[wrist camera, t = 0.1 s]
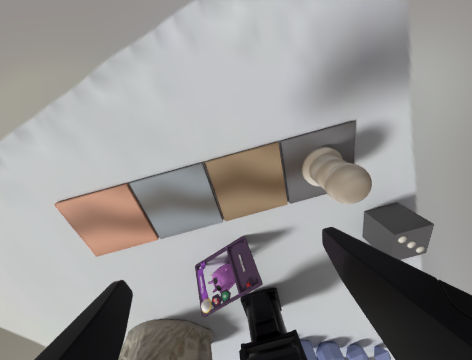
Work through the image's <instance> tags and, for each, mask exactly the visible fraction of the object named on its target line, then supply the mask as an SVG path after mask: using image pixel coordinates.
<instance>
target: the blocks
mask: <svg viewBox="0 0 472 360" xmlns="http://www.w3.org/2000/svg"><path fill="white" fill-rule="evenodd" d="M300 341H301V344H302V347H303V349H304V352H305V354H306V357H307V360H345V359H344V357H343V355H342V353H341V351H340V349H339V347H338V345H337V344H336V343H334V342H324V343H321V345H320V346H319V347H318V348H317V351H316V355H317V357H318V359H317V358H316V355H315V352H314V350H313V347H312V345H311V343H310V341H306V340H300ZM346 356H347V358H348V360H369V358H368V356H367V354H366V353H365V351H364V349H363V348H361V347H359V346H358V345H356V344H352V345H350V346H348V348H347V353H346ZM374 357H375V359H376V360H391V357H390V354H389V352H388V351H386V350H384V349H382V348H380V347H378V346H376V347H375V348H374Z"/></svg>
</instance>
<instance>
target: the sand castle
mask: <svg viewBox="0 0 472 360" xmlns="http://www.w3.org/2000/svg"><path fill="white" fill-rule="evenodd" d="M213 336H214V334H213V332H212V331H211V330H208V329H207V330H206V329H205V328H204V327H202V326H199V325H196V324H195V323H193V322H189V321H180V320H170V319H169V320H167V319H166V320H165V319H160V320H157V321H156V320H151V321H146V322H144V323H142V324H139V325H137V326H136V327H134V328H132V329H131V330H130V331H129V332H128V335H127V338H126V341H125V342H124V344H123V346H122V348H121V352H120V356H119V359H118V360H212V352H211V343H212V340H213Z"/></svg>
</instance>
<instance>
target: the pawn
mask: <svg viewBox="0 0 472 360" xmlns="http://www.w3.org/2000/svg"><path fill="white" fill-rule="evenodd" d="M301 172H302V176H303V177H304V179H305V180H306V181H307V182H308V183H310V184H311V185H314V186H321V187H322V188H323V189H324V190H326V192H327V194H328V195H329V196H330V197H331V198H332V199H333V200H335V201H337V202H340V203H344V204H353V203H357V202H359V201H361V200H363V199H364V198H365V197H366V196H367V195H368V194H369V192H370V190H371V186H372V181H371V177H370V175H369V174H368V172H367V171H366V170H365V169H364V168H362V167H361V166H359V165H356V164H352V163H348V162H346V161H344V160H343V158H342V156H341V154H340V153H339V152H338V151H336V150H334V149H332V148H329V147H320V148H317V149H314V150H313V151H311V152H310V153H309V154H308V155H307V156H306V157H305V159H304V161H303V163H302V167H301Z"/></svg>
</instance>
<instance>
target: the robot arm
mask: <svg viewBox="0 0 472 360" xmlns="http://www.w3.org/2000/svg"><path fill="white" fill-rule="evenodd" d="M322 242H323V246H324V248H325V250H326V252H327V254H328V256H329V258H330V259H331V261H332V263H333V265H334V267H335V269H336V271H337V272H338V274H339V276H340V278H341V280H342V281H343V283H344V284H345V286H346V287H347V289H348V290H349V292H350V293H351V295H352V296H353V298H354V299H355V301H356V302H357V304H358V305H359V307H360V308H361V310H362V311H363V313H364V314H365V315H366V317H367V318H368V320H369V321H370V323H371V324H372V326H373V327H374V329H375V330H376V332H377V333H378V335H379V336H380V338H381V339H382V341H383V342H384V344H385V345H386V346H387V348H388V349H389V351H390V352H391V354H392V355H393V357H394V358H395V360H472V295H470V294H468V293H466V292H464V291H462V290H460V289H458V288H455V287H453V286H451V285H449V284H447V283H445V282H443V281H441V280H437V279H436V278H435V277H433V276H431V275H429V274H427V273H425V272H423V271H421V270H419V269H417V268H415V267H413V266H411V265H409V264H407V263H405V262H403V261H401V260H399V259H397V258H394V257H392V256H390V255H388V254H386V253H384V252H382V251H380V250H378V249H376V248H374V247H372V246H370V245H368V244H366V243H364V242H362V241H360V240H358V239H356V238H354V237H352V236H350V235H348V234H346V233H344V232H342V231H340V230H338V229H336V228H334V227H329V228H325V229H323V230H322ZM132 297H133V293H132V290H131V289H130V288H129V286H128V285H127V284H126V282H125V281H124V280H120V281H116V282H113V283H111V284H110V285H109V286H108V287H107V288H106V289H105V290H104V291H103V292H102V293H101V294H100V295H99V296H98V297H97V298H96V299H95V300H94V301H93V302H92V303H91V304H90V305H89V306H88V307H87V308H86V309H85V310H84V311H83V312H82V313H81V314H80V315H79V316H78V317H77V318H76V319H75V320H74V321H73V322H72V323H71V324H70V325H69V326H68V327H67V328H66V329H65V330H64V331H63V332H62V333H61V334H60V335H59V336H58V337H57V338H56V339H55V340H54V341H53V342H52V343H51V344H50V345H49V346H48V347H47V348H46V349H45V350H44V351H43V352H42V353H41V354H40V355H38V356H37V358H35V360H118V359H119V356H120V352H121V348H122V345H123V341H124V337H125V333H126V328H127V323H128V318H129V313H130V308H131V302H132ZM241 303H242V305H243V308H244V311H245V313H246V316H247V318H248V323H249V330H250V337H251V342H250V343H246V344H245V343H243V344H241V350H240V351H239V353H240V360H307V357H306V354H305V352H304V349H303V347H302V344H301V341H300V339H299V336H298V334H297V331H296V330H293V331H291V332H288V333H287V331H286V328H285V325H284V321H283V318H282V315H281V312H280V311H281V310H282V309H281V305H280V301H279V297H278V292H277V289H276V288H272V289H268V290H264V291H261V292H257V293H253V294H250V295H246V296H242V297H241Z"/></svg>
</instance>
